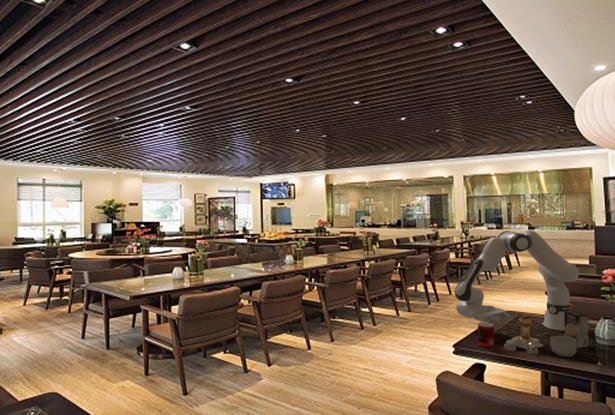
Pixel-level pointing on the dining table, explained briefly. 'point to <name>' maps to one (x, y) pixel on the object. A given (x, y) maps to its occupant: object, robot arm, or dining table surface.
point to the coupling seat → (520, 344)
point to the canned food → (486, 334)
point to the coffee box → (576, 327)
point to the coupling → (525, 327)
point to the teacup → (563, 346)
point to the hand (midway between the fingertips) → (504, 318)
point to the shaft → (531, 348)
